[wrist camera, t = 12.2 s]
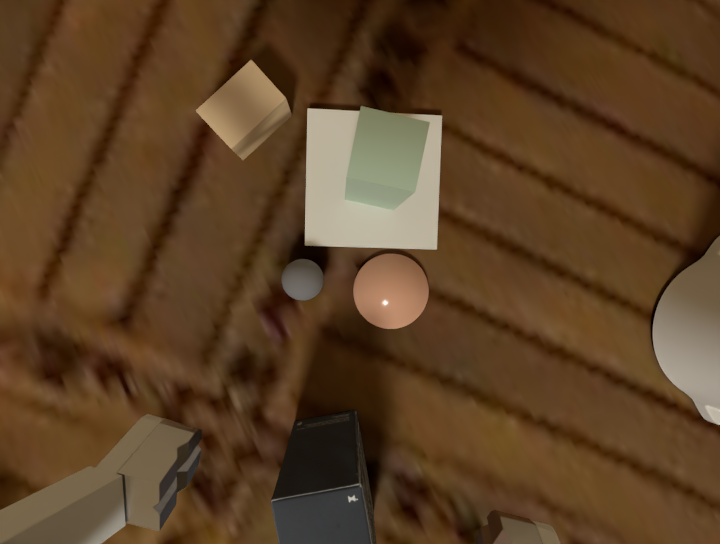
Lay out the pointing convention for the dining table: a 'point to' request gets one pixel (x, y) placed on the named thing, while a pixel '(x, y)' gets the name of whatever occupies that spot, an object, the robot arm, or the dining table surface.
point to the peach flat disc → (390, 291)
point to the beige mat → (356, 220)
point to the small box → (324, 484)
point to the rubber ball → (302, 279)
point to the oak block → (246, 110)
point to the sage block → (385, 158)
